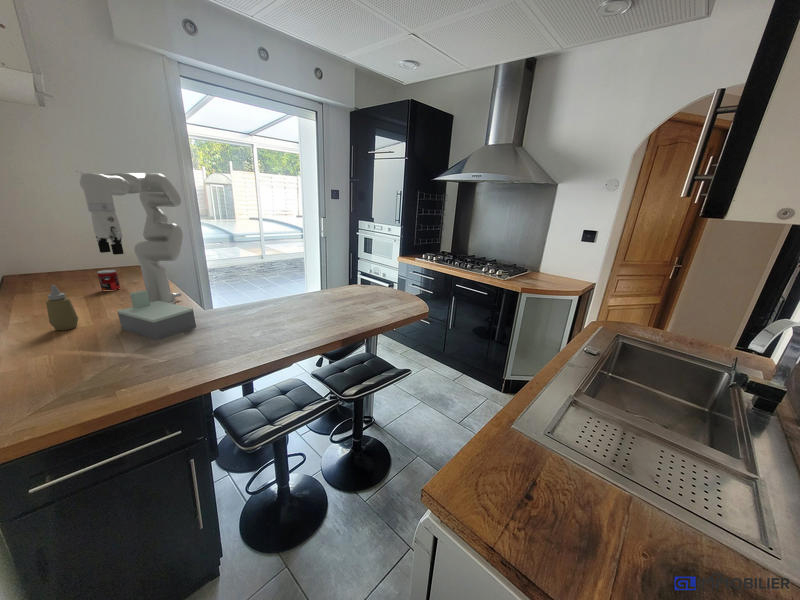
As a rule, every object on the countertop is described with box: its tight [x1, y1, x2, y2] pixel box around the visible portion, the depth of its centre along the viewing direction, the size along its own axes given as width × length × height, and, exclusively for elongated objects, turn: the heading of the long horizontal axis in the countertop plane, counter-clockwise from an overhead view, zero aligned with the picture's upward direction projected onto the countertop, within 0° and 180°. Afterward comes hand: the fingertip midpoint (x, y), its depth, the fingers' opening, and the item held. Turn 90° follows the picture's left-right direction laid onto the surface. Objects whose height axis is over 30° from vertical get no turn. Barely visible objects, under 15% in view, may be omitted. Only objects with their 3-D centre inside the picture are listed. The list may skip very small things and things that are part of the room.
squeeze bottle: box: [45, 284, 79, 332], centre depth 122 cm, size 8×8×18 cm
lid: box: [117, 290, 194, 323], centre depth 123 cm, size 15×22×8 cm
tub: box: [117, 310, 197, 341], centre depth 125 cm, size 15×22×8 cm
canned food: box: [96, 269, 121, 291], centre depth 175 cm, size 8×8×11 cm
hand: (111, 253), depth 122 cm, fingers open, 9 cm apart
